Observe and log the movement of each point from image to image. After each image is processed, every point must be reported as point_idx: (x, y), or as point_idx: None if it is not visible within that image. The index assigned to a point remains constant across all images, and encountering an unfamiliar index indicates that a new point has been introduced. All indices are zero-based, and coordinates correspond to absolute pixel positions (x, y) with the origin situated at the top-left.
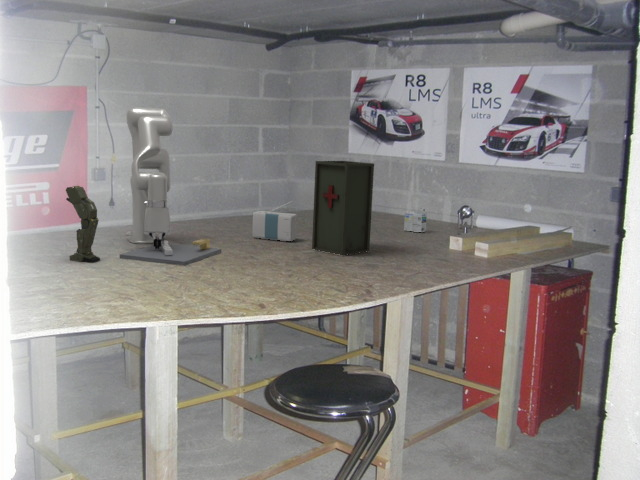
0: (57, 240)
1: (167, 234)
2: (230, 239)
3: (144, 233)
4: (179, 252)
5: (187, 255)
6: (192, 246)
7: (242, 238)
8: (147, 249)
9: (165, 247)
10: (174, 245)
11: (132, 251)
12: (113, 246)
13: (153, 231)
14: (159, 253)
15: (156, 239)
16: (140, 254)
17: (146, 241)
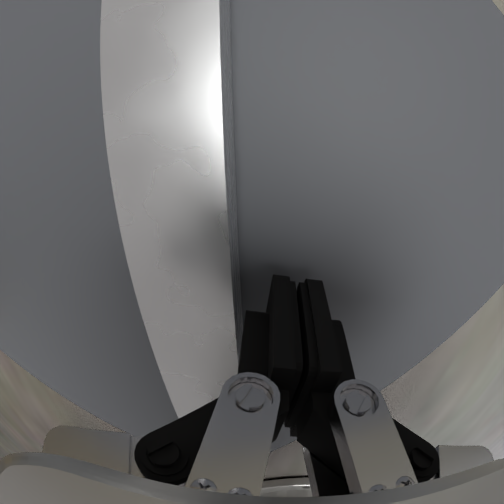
0: (498, 454)
1: (101, 436)
2: (28, 439)
3: (485, 451)
4: (58, 172)
5: (12, 29)
6: (45, 376)
7: (12, 434)
8: (365, 349)
9: (182, 152)
10: (147, 424)
11: (500, 273)
12: (437, 441)
13: (441, 495)
14: (285, 115)
15: (319, 376)
16: (492, 110)
17: (292, 486)
